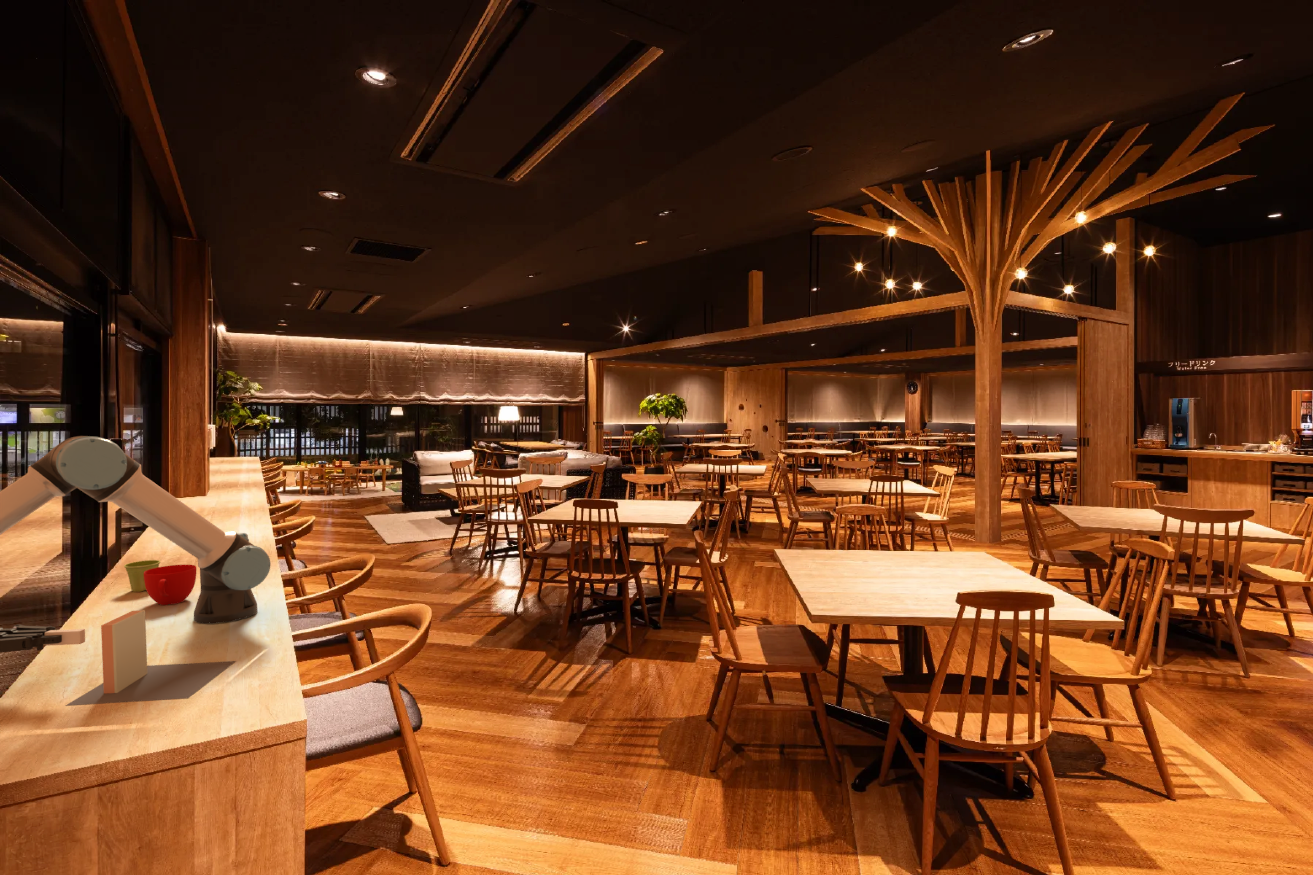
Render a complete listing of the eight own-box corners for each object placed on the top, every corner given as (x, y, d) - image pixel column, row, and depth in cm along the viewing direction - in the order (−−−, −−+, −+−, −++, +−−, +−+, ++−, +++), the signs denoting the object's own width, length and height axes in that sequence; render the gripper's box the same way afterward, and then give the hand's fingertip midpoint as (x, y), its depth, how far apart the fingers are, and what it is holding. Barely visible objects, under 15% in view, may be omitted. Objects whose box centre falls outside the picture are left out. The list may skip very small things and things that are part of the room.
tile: (103, 693, 136) (101, 625, 135) (134, 674, 146) (132, 610, 145) (117, 692, 136) (114, 624, 135) (147, 673, 146) (145, 610, 145)
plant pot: (146, 593, 212) (145, 566, 212) (117, 593, 213) (116, 566, 212) (168, 585, 222) (167, 559, 221) (140, 585, 222) (139, 559, 222)
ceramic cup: (134, 614, 191) (133, 579, 190) (151, 598, 206) (150, 566, 206) (188, 608, 196) (187, 574, 196) (201, 594, 212) (200, 562, 211)
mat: (65, 708, 130) (65, 705, 130) (130, 669, 150) (130, 666, 150) (188, 701, 133) (188, 698, 133) (236, 663, 153) (236, 660, 153)
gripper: (-19, 648, 142) (104, 643, 146) (-77, 671, 129) (59, 665, 133) (-20, 613, 142) (103, 609, 145) (-78, 633, 129) (58, 628, 132)
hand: (82, 636), depth 139 cm, fingers closed
